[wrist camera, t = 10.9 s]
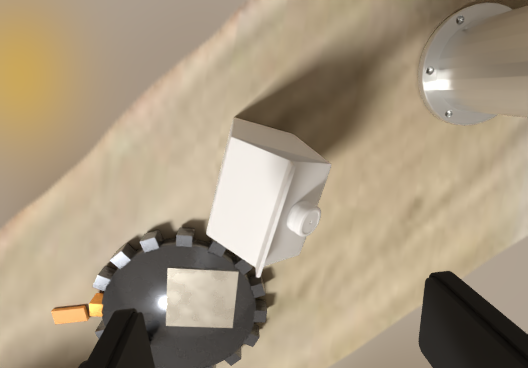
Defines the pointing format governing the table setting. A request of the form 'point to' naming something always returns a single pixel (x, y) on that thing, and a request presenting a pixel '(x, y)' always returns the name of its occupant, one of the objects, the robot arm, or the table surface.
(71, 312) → the block
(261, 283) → the sprocket
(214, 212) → the milk carton
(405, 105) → the table surface
